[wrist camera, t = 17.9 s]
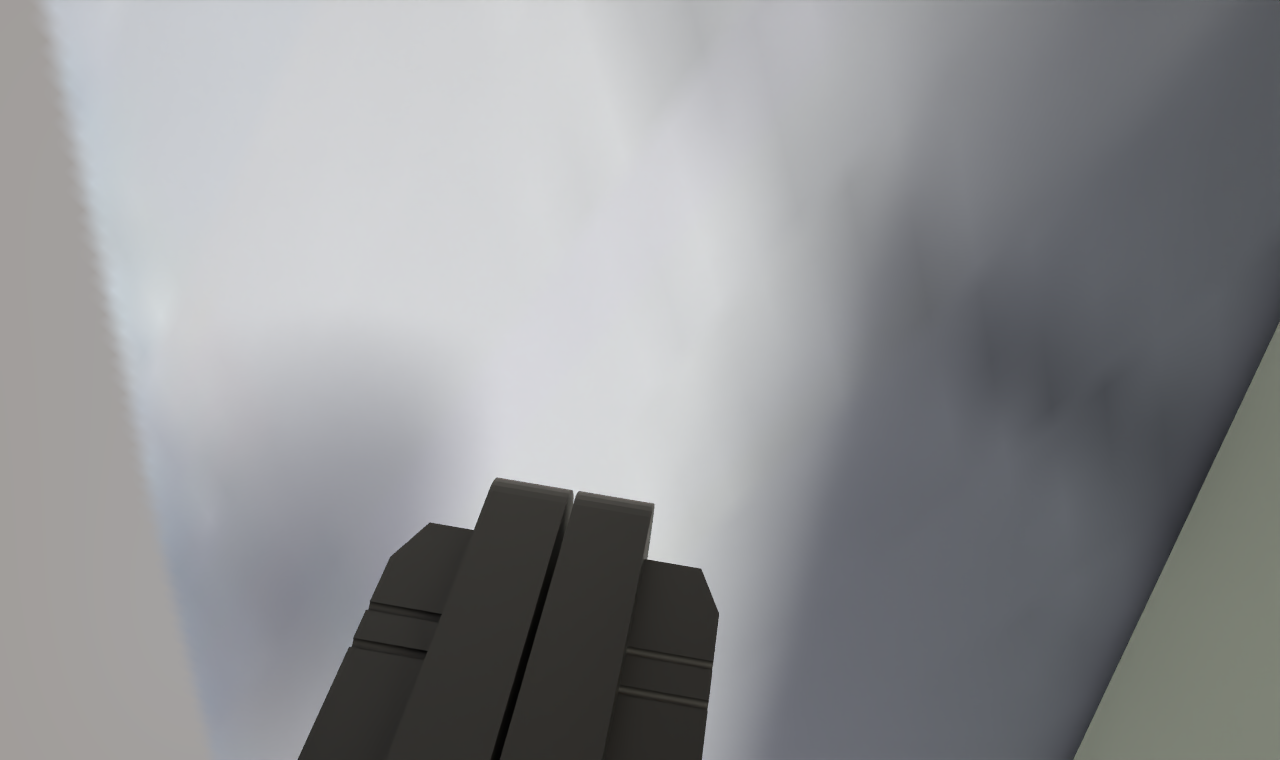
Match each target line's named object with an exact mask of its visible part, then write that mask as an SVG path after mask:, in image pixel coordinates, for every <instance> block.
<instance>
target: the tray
mask: <svg viewBox="0 0 1280 760" xmlns="http://www.w3.org/2000/svg"><path fill="white" fill-rule="evenodd" d="M1073 760H1280V322H1279V324H1278V326H1277V328H1276V331H1275V333H1274V335H1273V337H1272V339H1271V341H1270V343H1269V345H1268V348H1267V350H1266V352H1265V354H1264V356H1263V358H1262V360H1261V362H1260V365H1259V367H1258V369H1257V371H1256V373H1255V375H1254V377H1253V379H1252V381H1251V384H1250V386H1249V388H1248V390H1247V392H1246V394H1245V396H1244V398H1243V401H1242V403H1241V405H1240V407H1239V409H1238V411H1237V413H1236V415H1235V418H1234V420H1233V422H1232V424H1231V426H1230V428H1229V430H1228V432H1227V435H1226V437H1225V439H1224V441H1223V443H1222V445H1221V447H1220V449H1219V452H1218V454H1217V456H1216V458H1215V460H1214V462H1213V464H1212V466H1211V468H1210V471H1209V473H1208V475H1207V477H1206V479H1205V481H1204V483H1203V485H1202V488H1201V490H1200V492H1199V494H1198V496H1197V498H1196V500H1195V502H1194V505H1193V507H1192V509H1191V511H1190V513H1189V515H1188V517H1187V519H1186V522H1185V524H1184V526H1183V528H1182V530H1181V532H1180V534H1179V536H1178V538H1177V541H1176V543H1175V545H1174V547H1173V549H1172V551H1171V553H1170V555H1169V558H1168V560H1167V562H1166V564H1165V566H1164V568H1163V570H1162V572H1161V575H1160V577H1159V579H1158V581H1157V583H1156V585H1155V587H1154V589H1153V592H1152V594H1151V596H1150V598H1149V600H1148V602H1147V604H1146V606H1145V609H1144V611H1143V613H1142V615H1141V617H1140V619H1139V621H1138V623H1137V625H1136V628H1135V630H1134V632H1133V634H1132V636H1131V638H1130V640H1129V642H1128V645H1127V647H1126V649H1125V651H1124V653H1123V655H1122V657H1121V659H1120V662H1119V664H1118V666H1117V668H1116V670H1115V672H1114V674H1113V676H1112V679H1111V681H1110V683H1109V685H1108V687H1107V689H1106V691H1105V693H1104V695H1103V698H1102V700H1101V702H1100V704H1099V706H1098V708H1097V710H1096V712H1095V715H1094V717H1093V719H1092V721H1091V723H1090V725H1089V727H1088V729H1087V732H1086V734H1085V736H1084V738H1083V740H1082V742H1081V744H1080V746H1079V749H1078V751H1077V753H1076V755H1075V757H1074V759H1073Z"/></svg>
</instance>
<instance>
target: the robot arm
mask: <svg viewBox="0 0 1280 760" xmlns="http://www.w3.org/2000/svg"><path fill="white" fill-rule="evenodd" d="M653 514H654V504H653V503H647V502H641V501H635V500H629V499H623V498H617V497H611V496H605V495H599V494H593V493H588V492H582V491H579V492H578V493H577V495H576V498H575V501H574V504H573V491H572V490H568V489H562V488H556V487H550V486H544V485H538V484H532V483H526V482H520V481H514V480H508V479H502V478H496V479H495V480H494V481H493V483H492V485H491V487H490V490H489V492H488V495H487V497H486V500H485V503H484V505H483V508H482V510H481V513H480V516H479V518H478V521H477V523H476V526H475V529H474V530H470V529H464V528H458V527H452V526H446V525H441V524H435V523H429V524H428V525H426V526H425V527H424V528H423V529H422V530H421V531H420V532H418V533H417V534H416V535H415V536H414V537H413V538H412V539H410V540H409V541H408V542H407V543H406V544H405V545H404V546H402V547H401V548H400V549H399V550H398V551H397V552H395V553H394V554H393V555H392V556H391V557H390V559H389V561H388V563H387V565H386V567H385V570H384V572H383V574H382V576H381V578H380V581H379V583H378V585H377V587H376V589H375V591H374V594H373V596H372V598H371V600H370V606H369V609H368V610H366V611H365V613H364V616H363V618H362V620H361V622H360V624H359V627H358V629H357V631H356V633H355V635H354V637H353V644H352V647H349V648H348V651H347V653H346V655H345V657H344V659H343V662H342V664H341V666H340V668H339V670H338V672H337V675H336V677H335V679H334V681H333V683H332V686H331V688H330V690H329V692H328V694H327V697H326V699H325V701H324V703H323V705H322V708H321V710H320V712H319V714H318V716H317V718H316V721H315V723H314V725H313V727H312V729H311V732H310V734H309V736H308V738H307V740H306V743H305V745H304V747H303V749H302V751H301V753H300V756H299V758H298V760H702V753H703V744H704V736H705V727H706V719H707V708H708V702H709V694H710V685H711V677H712V666H713V660H714V652H715V643H716V635H717V626H718V618H719V612H718V610H717V607H716V605H715V602H714V600H713V597H712V595H711V592H710V590H709V587H708V585H707V582H706V580H705V577H704V575H703V572H702V570H701V569H699V568H693V567H688V566H682V565H676V564H670V563H664V562H658V561H653V560H647V557H648V550H649V543H650V536H651V529H652V522H653Z"/></svg>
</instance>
